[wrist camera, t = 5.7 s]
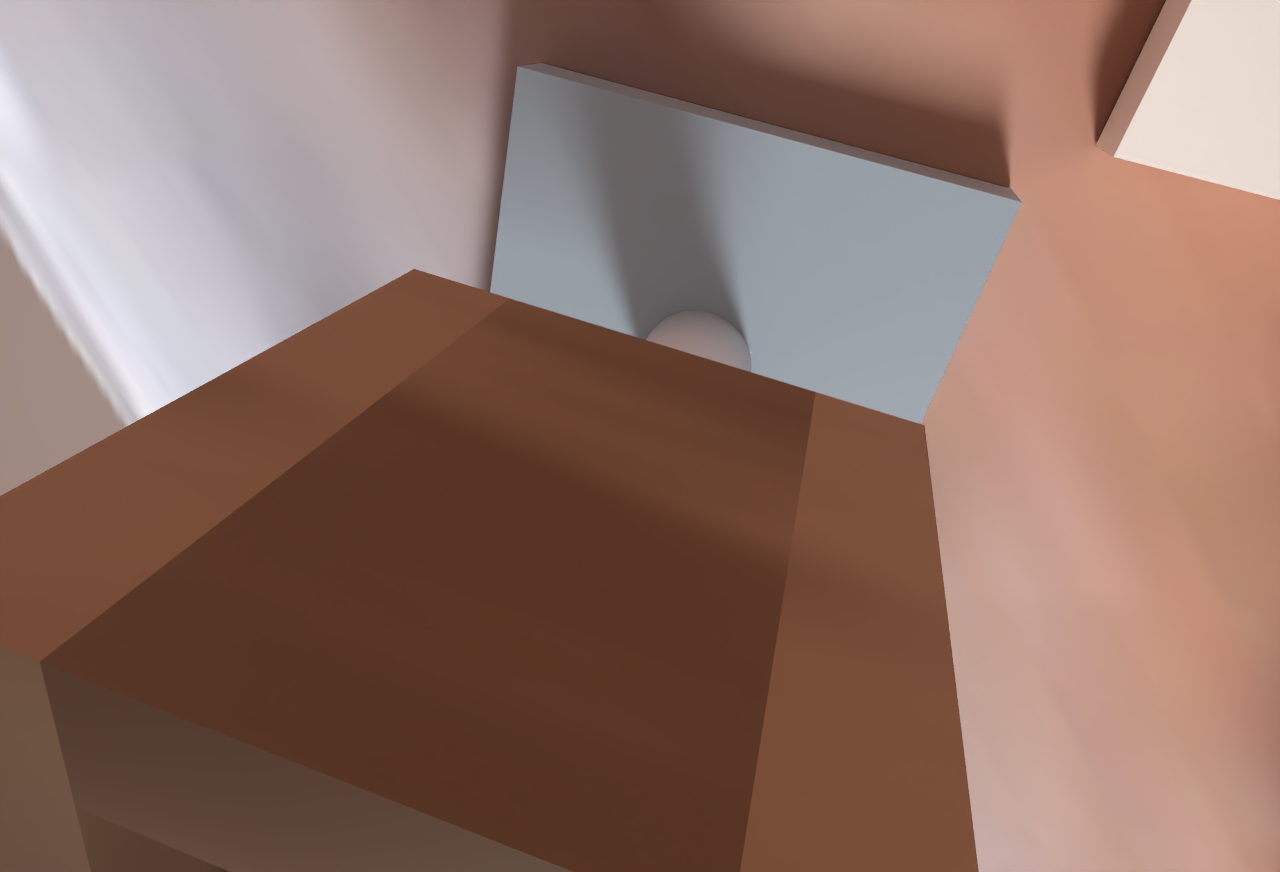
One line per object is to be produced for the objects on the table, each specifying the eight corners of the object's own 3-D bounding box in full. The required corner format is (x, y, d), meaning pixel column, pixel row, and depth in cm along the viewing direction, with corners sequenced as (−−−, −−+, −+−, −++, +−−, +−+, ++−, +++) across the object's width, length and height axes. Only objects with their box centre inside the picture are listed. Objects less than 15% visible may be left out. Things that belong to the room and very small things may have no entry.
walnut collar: (764, 776, 12) (676, 1382, 6) (389, 637, 12) (40, 1083, 7) (924, 425, 9) (999, 1038, 3) (413, 268, 9) (-161, 584, 4)
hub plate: (1011, 188, 14) (1090, 289, 9) (842, 569, 19) (830, 782, 14) (541, 62, 15) (368, 88, 10) (488, 452, 20) (351, 608, 15)
